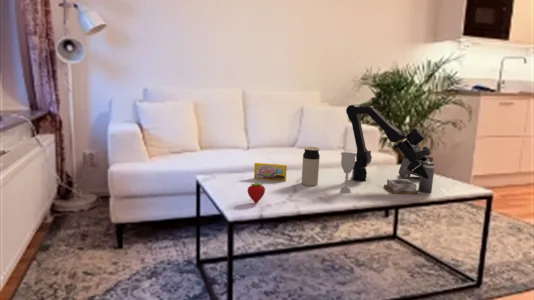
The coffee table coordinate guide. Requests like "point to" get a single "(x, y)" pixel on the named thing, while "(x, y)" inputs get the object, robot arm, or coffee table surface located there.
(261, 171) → the candy box
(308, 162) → the travel mug
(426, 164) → the lens
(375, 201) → the coffee table surface
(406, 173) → the camera
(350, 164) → the chalice
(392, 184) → the mount
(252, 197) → the strawberry
